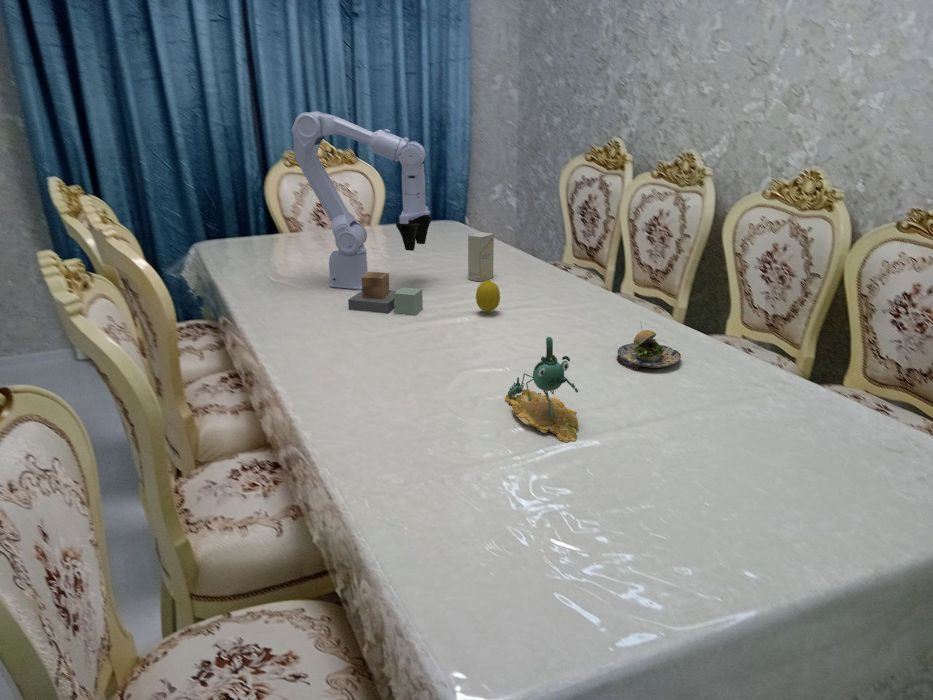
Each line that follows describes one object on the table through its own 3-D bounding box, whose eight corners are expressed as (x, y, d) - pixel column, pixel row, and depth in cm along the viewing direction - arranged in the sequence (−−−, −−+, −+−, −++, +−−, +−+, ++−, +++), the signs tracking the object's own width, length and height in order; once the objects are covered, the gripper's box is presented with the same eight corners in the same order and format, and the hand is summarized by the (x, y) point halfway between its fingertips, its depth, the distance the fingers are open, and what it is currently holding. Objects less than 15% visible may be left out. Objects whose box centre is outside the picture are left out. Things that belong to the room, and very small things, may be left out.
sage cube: (394, 313, 153) (393, 293, 151) (403, 307, 157) (402, 287, 155) (414, 316, 151) (414, 295, 150) (422, 309, 156) (422, 289, 154)
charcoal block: (348, 311, 156) (348, 299, 155) (367, 299, 165) (366, 287, 164) (387, 315, 153) (387, 303, 152) (404, 303, 162) (404, 291, 161)
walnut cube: (362, 297, 156) (361, 277, 154) (369, 291, 160) (368, 271, 159) (383, 299, 155) (381, 278, 153) (389, 293, 159) (388, 272, 158)
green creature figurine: (542, 389, 115) (552, 311, 108) (598, 448, 100) (613, 362, 93) (492, 398, 111) (498, 318, 105) (542, 460, 97) (553, 372, 90)
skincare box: (480, 282, 177) (480, 237, 172) (467, 279, 179) (467, 235, 175) (494, 277, 181) (494, 233, 177) (481, 274, 184) (481, 231, 179)
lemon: (471, 314, 152) (471, 281, 149) (482, 308, 156) (482, 275, 153) (493, 318, 149) (493, 284, 146) (503, 311, 154) (504, 278, 151)
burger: (634, 377, 120) (638, 339, 117) (605, 354, 130) (608, 318, 128) (693, 370, 123) (698, 332, 120) (659, 347, 133) (663, 312, 130)
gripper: (418, 198, 157) (419, 254, 162) (438, 189, 170) (439, 241, 175) (390, 196, 159) (393, 252, 164) (413, 188, 172) (414, 240, 177)
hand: (415, 246), depth 170 cm, fingers open, 7 cm apart
